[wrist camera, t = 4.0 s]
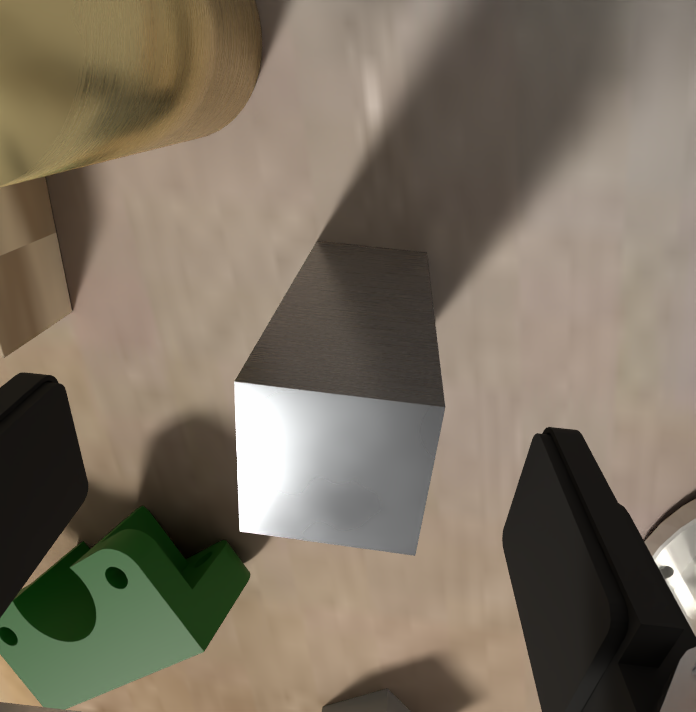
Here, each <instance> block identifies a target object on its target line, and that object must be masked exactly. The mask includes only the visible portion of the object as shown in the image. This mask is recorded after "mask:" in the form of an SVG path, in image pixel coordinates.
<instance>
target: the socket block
mask: <svg viewBox="0 0 696 712" xmlns="http://www.w3.org/2000/svg"><path fill="white" fill-rule="evenodd" d="M71 312H72V308H71V303H70V298H69V293H68V288H67V283H66V278H65V273H64V268H63V264H62V259H61V254H60V249H59V244H58V239H57V234H56V229H55V224H54V219H53V214H52V209H51V204H50V199H49V194H48V189H47V184H46V179H45V176H44V177H40V178H36V179H32V180H28V181H24V182H20V183H16V184H12V185H8V186H4V187H0V357H2V358H5V357H6V356H8V355H9V354H11V353H12V352H14V351H15V350H16V349H18V348H19V347H21V346H22V345H24V344H25V343H27V342H28V341H30V340H31V339H33V338H34V337H36V336H37V335H39V334H40V333H42V332H43V331H45V330H46V329H48V328H49V327H51V326H52V325H54V324H55V323H57V322H58V321H60V320H61V319H62V318H64V317H65V316H67V315H68V314H70V313H71Z"/></svg>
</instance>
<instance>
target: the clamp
mask: <svg viewBox="0 0 696 712" xmlns="http://www.w3.org/2000/svg"><path fill="white" fill-rule="evenodd" d="M249 578H250V572H249V571H248V569H247V568H246V567H245V565H244V564H243V563H242V561H241V560H240V559H239V557H238V556H237V554H236V553H235V552H234V550H233V549H232V548H231V546H230V545H229V544H228V542H227V541H226V540H222V541H220V542H218V543H216V544H214V545H212V546H210V547H208V548H206V549H205V550H203V551H201V552H199V553H197V554H195V555H193V556H191V557H189V558H187V559H185V558H184V557H183V555H182V554H181V553H180V551H179V550H178V549H177V547H176V546H175V545H174V543H173V542H172V541H171V539H170V538H169V537H168V535H167V534H166V533H165V531H164V530H163V529H162V527H161V526H160V525H159V523H158V522H157V521H156V519H155V518H154V517H153V516H152V514H151V513H150V512H149V510H148V509H146V508H145V507H144V506H141V507H139V508H138V509H136V510H135V511H134V512H132V513H131V514H130V515H129V516H128V517H127V518H126V519H124V520H123V521H122V522H121V523H120V524H119V525H118V526H117V527H115V528H114V529H113V530H112V531H111V532H110V533H109V534H107V535H106V536H105V537H104V538H103V539H102V540H101V541H99V542H98V543H97V544H96V545H95V546H94V547H93V548H91V549H90V548H89V547H88V546H87V545H86V544H85V542H84V541H83V542H81V543H80V544H78V545H77V546H75V547H74V548H73V549H72V550H71V551H69V552H68V553H67V554H66V555H65V556H63V557H62V558H61V559H60V560H59V561H58V562H56V563H55V564H54V565H53V566H52V567H50V568H49V569H48V570H47V571H46V572H44V573H43V574H42V575H41V576H40V577H38V578H37V579H36V580H35V581H34V582H32V583H31V584H30V585H28V586H26V587H25V588H23V589H21V590H20V591H19V593H18V594H17V596H16V597H15V598H14V600H13V601H12V602H11V604H10V605H9V607H8V608H7V609H6V611H5V612H4V614H3V615H2V616H1V618H0V654H1V656H2V657H3V658H4V659H5V661H6V662H7V663H8V664H9V665H10V667H11V668H12V669H13V670H14V672H15V673H16V674H17V675H18V677H19V678H20V679H21V680H22V681H23V683H24V684H25V685H26V686H27V688H28V689H29V690H30V691H31V692H32V694H33V695H34V696H35V697H36V699H37V700H38V701H39V702H40V703H41V705H42V706H43V707H46V708H55V709H63V710H65V709H67V708H70V707H72V706H74V705H77V704H79V703H82V702H84V701H87V700H89V699H91V698H94V697H96V696H99V695H101V694H103V693H106V692H108V691H111V690H113V689H115V688H118V687H120V686H123V685H125V684H128V683H130V682H132V681H135V680H137V679H140V678H142V677H144V676H147V675H149V674H152V673H154V672H156V671H159V670H161V669H164V668H166V667H169V666H171V665H173V664H176V663H178V662H181V661H183V660H185V659H188V658H190V657H193V656H195V655H198V654H200V653H202V652H204V651H205V649H206V648H207V646H208V645H209V643H210V641H211V640H212V638H213V637H214V635H215V633H216V632H217V630H218V629H219V627H220V625H221V624H222V622H223V621H224V619H225V617H226V616H227V614H228V613H229V611H230V609H231V608H232V606H233V605H234V603H235V601H236V600H237V598H238V597H239V595H240V593H241V592H242V590H243V589H244V587H245V585H246V584H247V582H248V580H249Z"/></svg>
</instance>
